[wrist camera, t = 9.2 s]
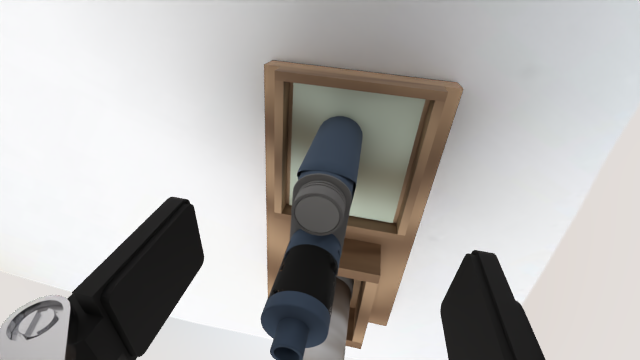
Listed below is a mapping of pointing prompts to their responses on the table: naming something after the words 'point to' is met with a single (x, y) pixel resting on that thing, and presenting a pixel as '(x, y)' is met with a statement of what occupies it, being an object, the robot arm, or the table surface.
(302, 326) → the vaping device
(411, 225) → the holder
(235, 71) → the table surface
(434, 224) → the table surface
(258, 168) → the table surface
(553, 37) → the table surface
